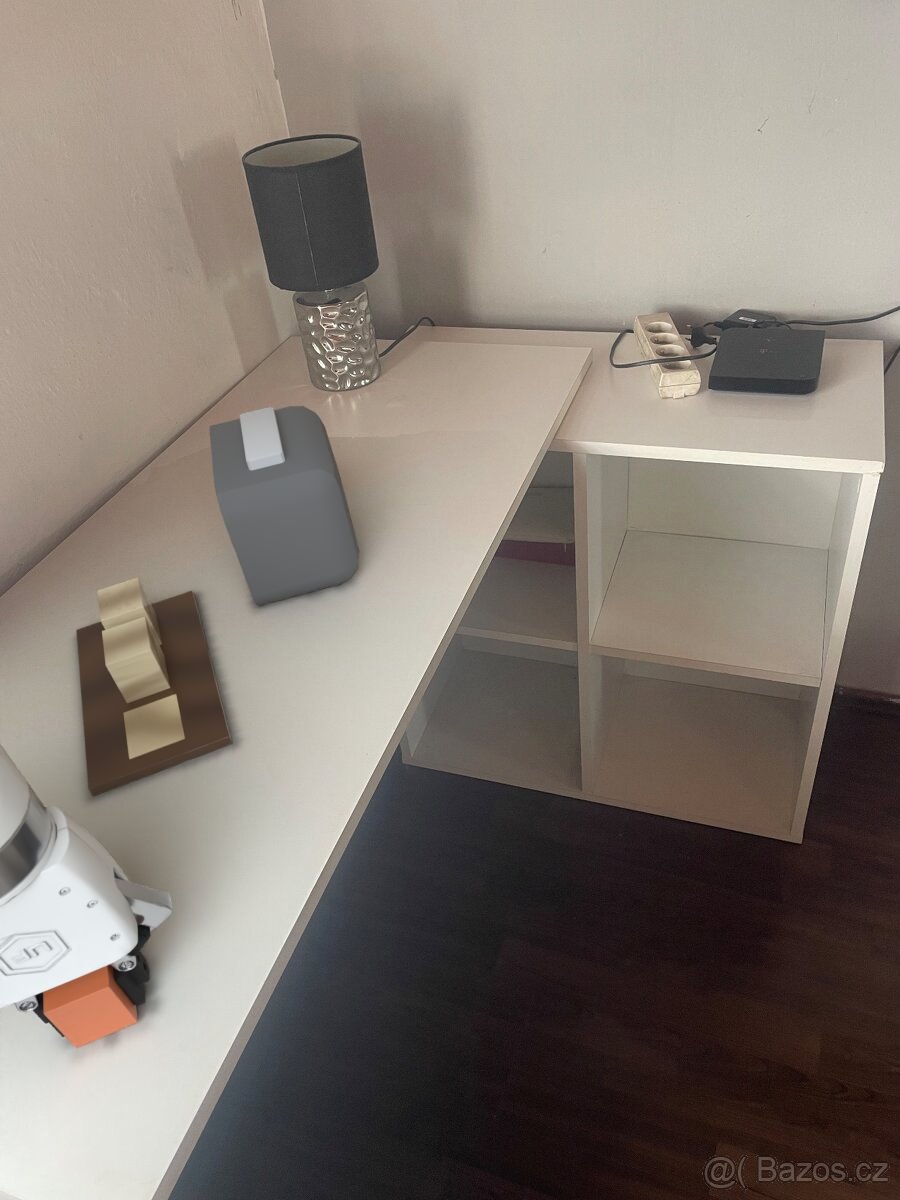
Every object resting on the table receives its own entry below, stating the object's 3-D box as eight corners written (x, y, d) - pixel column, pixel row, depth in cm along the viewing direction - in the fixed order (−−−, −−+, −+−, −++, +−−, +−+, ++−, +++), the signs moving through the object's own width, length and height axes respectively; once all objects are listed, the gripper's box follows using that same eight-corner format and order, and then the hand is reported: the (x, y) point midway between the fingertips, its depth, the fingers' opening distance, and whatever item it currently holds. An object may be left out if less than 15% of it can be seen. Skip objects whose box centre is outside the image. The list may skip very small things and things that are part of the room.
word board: (232, 743, 74) (228, 735, 74) (93, 796, 72) (87, 788, 71) (195, 597, 91) (191, 589, 90) (80, 636, 88) (75, 628, 88)
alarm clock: (248, 528, 99) (204, 406, 89) (344, 503, 100) (312, 380, 90) (260, 617, 87) (211, 488, 76) (369, 588, 88) (336, 457, 78)
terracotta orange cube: (138, 1022, 57) (109, 986, 53) (76, 1048, 56) (43, 1014, 53) (131, 955, 60) (103, 918, 57) (73, 979, 60) (42, 943, 56)
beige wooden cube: (162, 644, 84) (143, 606, 81) (121, 658, 83) (100, 621, 80) (156, 614, 88) (138, 576, 84) (117, 627, 87) (97, 590, 84)
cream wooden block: (170, 688, 79) (150, 649, 76) (127, 703, 78) (105, 665, 75) (163, 654, 83) (145, 616, 80) (122, 668, 82) (101, 630, 79)
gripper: (-210, 968, 42) (-28, 1111, 54) (136, 837, 45) (235, 998, 57) (-182, 847, 47) (-23, 1000, 59) (124, 738, 51) (217, 904, 63)
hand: (102, 998), depth 58 cm, fingers closed on terracotta orange cube, 4 cm apart
